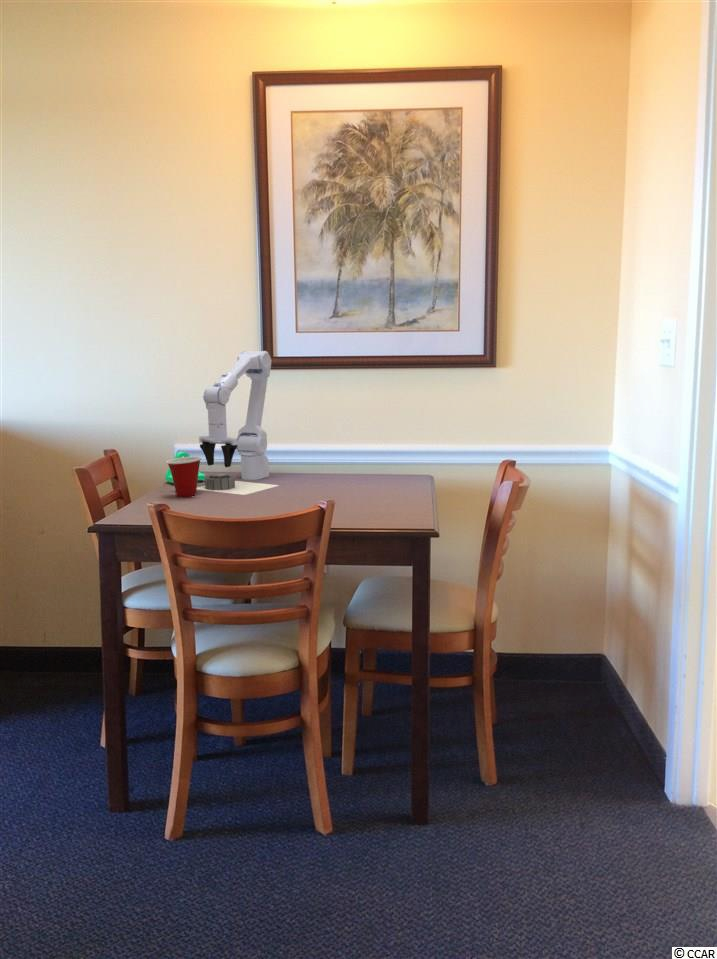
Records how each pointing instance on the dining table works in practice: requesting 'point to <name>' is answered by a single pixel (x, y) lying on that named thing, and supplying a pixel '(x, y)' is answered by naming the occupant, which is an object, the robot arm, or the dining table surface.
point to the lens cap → (219, 476)
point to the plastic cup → (185, 475)
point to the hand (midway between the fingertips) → (219, 465)
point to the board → (232, 486)
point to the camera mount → (168, 474)
